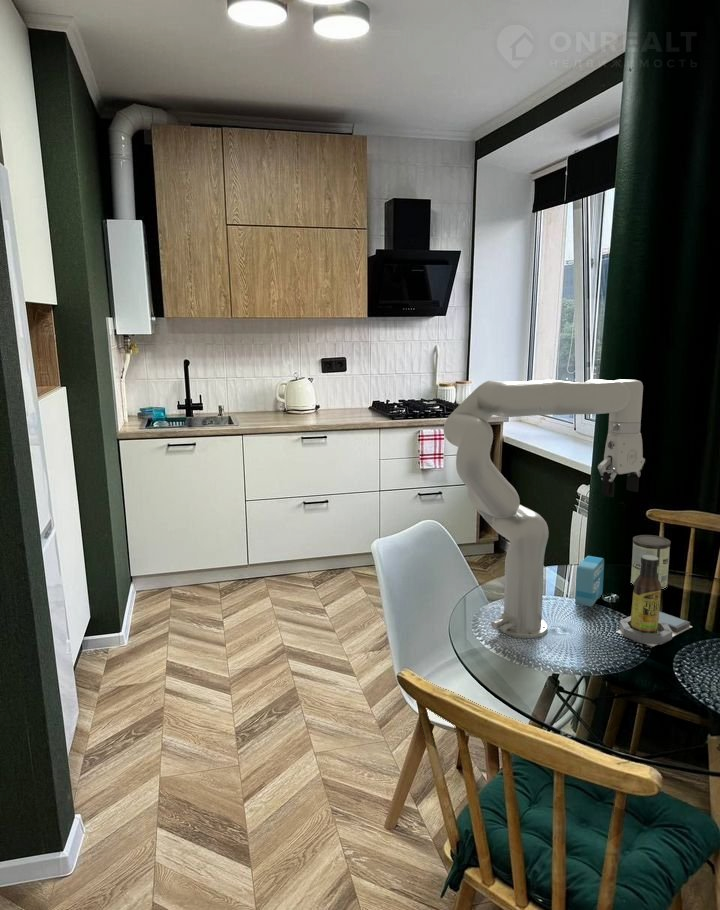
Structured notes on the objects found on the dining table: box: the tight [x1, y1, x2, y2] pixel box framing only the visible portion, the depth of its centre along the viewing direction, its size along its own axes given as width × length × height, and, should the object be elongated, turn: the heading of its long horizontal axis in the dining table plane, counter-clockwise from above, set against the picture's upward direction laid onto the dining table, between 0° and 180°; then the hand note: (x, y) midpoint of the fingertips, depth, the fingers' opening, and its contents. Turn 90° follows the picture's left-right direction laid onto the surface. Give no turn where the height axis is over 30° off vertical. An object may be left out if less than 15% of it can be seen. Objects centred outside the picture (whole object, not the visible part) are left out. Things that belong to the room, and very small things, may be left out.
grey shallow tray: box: [615, 615, 693, 648], centre depth 163 cm, size 19×11×3 cm, turn 125°
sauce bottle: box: [630, 555, 662, 634], centre depth 159 cm, size 6×6×20 cm
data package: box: [574, 555, 605, 608], centre depth 182 cm, size 12×4×12 cm, turn 146°
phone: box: [659, 610, 691, 633], centre depth 166 cm, size 6×9×1 cm, turn 35°
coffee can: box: [630, 534, 672, 590], centre depth 193 cm, size 10×10×14 cm
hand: (620, 493), depth 168 cm, fingers open, 9 cm apart
